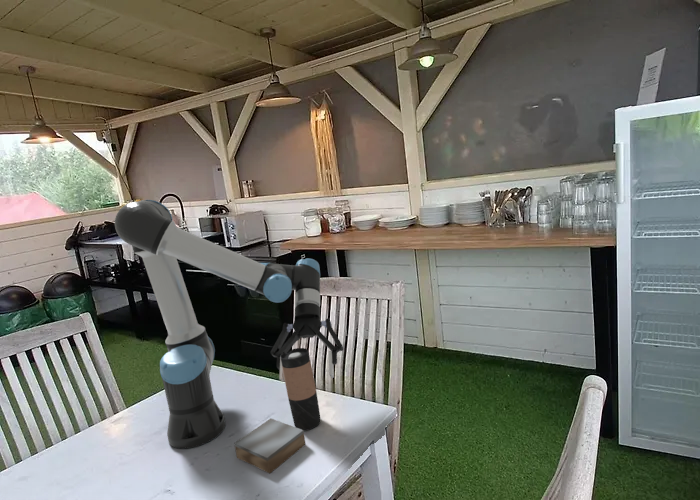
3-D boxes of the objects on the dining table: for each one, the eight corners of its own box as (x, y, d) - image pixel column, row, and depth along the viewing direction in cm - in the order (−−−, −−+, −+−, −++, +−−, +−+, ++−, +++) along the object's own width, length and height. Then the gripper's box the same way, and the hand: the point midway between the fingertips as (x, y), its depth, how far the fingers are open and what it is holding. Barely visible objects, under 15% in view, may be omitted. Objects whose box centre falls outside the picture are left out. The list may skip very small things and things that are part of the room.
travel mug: (318, 430, 116) (305, 357, 113) (290, 432, 117) (276, 360, 114) (324, 414, 123) (311, 346, 121) (297, 416, 125) (284, 349, 122)
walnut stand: (237, 457, 109) (234, 443, 109) (273, 431, 119) (270, 418, 118) (269, 473, 102) (267, 457, 101) (305, 444, 111) (303, 430, 110)
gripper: (351, 308, 134) (354, 378, 122) (270, 316, 136) (265, 386, 124) (347, 297, 127) (350, 369, 116) (262, 305, 130) (257, 377, 118)
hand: (306, 378), depth 120 cm, fingers open, 13 cm apart
